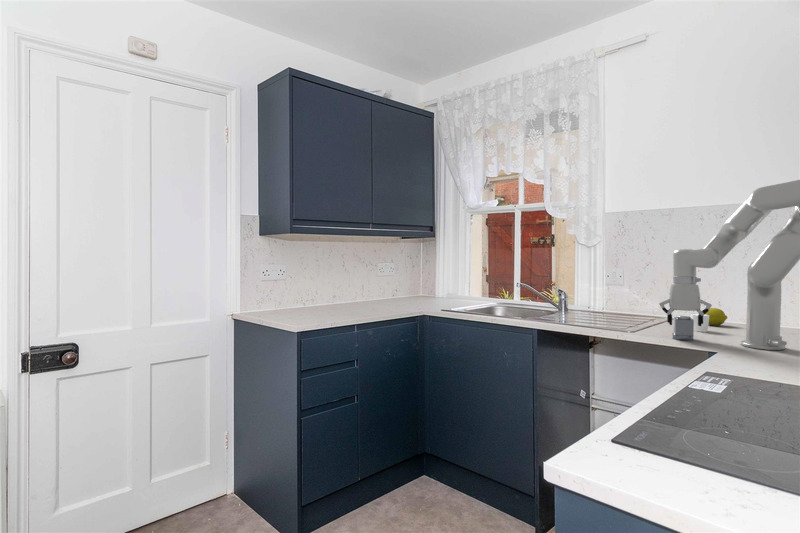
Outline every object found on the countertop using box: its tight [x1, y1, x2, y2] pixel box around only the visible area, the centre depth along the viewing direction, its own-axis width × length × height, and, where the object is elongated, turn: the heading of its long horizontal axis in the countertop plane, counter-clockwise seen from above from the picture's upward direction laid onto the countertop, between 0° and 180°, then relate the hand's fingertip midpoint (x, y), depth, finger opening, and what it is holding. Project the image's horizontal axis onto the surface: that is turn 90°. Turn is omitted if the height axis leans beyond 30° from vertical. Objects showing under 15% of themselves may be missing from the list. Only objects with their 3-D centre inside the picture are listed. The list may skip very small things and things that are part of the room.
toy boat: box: [671, 326, 695, 342], centre depth 185 cm, size 20×7×5 cm, turn 155°
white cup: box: [690, 313, 709, 333], centre depth 197 cm, size 7×7×7 cm
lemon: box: [706, 307, 728, 327], centre depth 211 cm, size 11×8×8 cm
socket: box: [672, 315, 695, 336], centre depth 179 cm, size 6×6×7 cm
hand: (684, 325), depth 179 cm, fingers open, 9 cm apart
